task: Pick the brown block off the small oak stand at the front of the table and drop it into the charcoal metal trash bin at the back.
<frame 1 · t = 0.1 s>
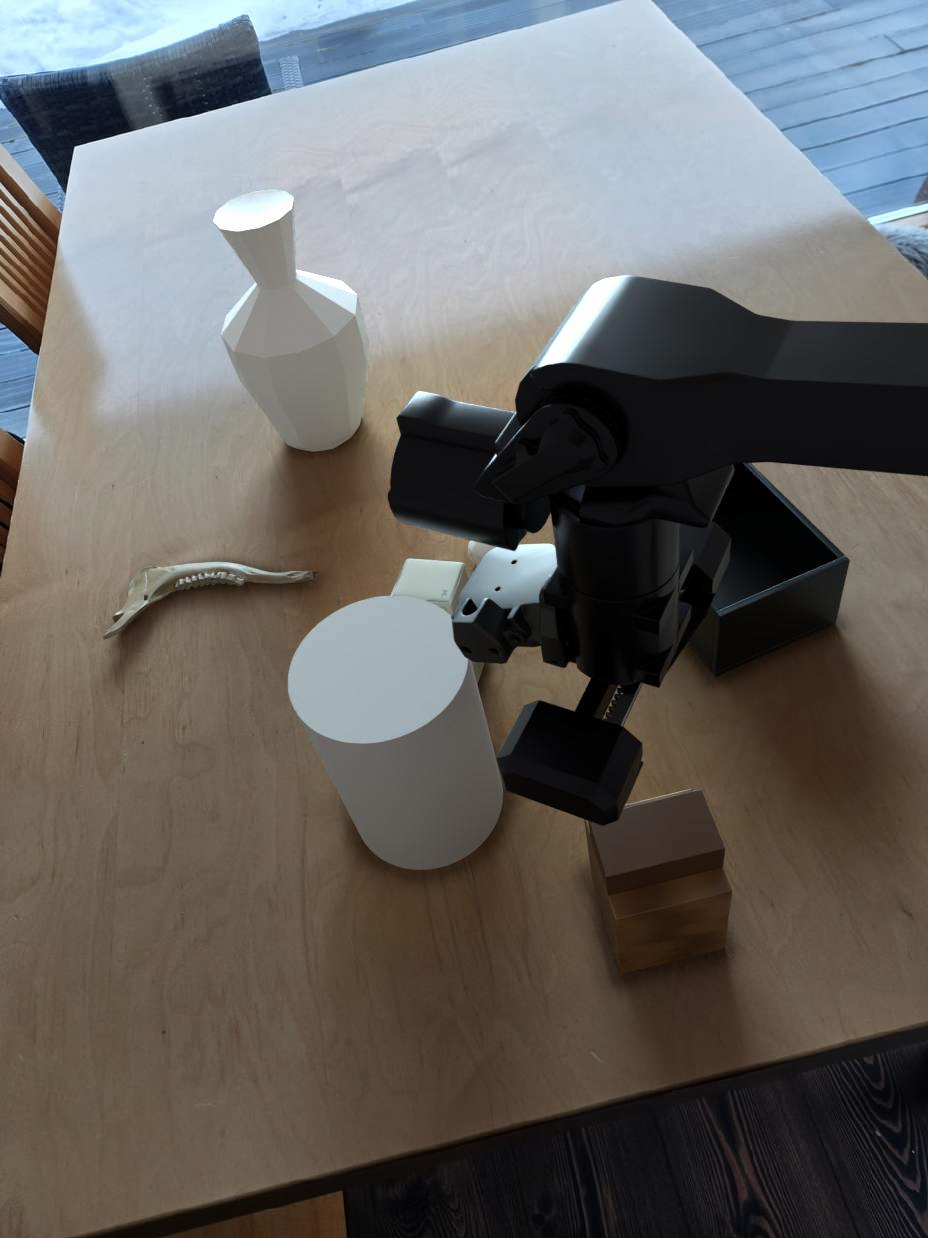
hand: (626, 737, 55), 15 cm above the table, tool pointing down, fingers open, 9 cm apart
brown block: (655, 851, 56), point 9 cm above the table, touching stand
jawbone: (213, 611, 88), on the table
white solid cylinder: (428, 800, 71), on the table
vase: (327, 428, 104), on the table
stand: (655, 911, 63), on the table
trash bin: (705, 567, 82), on the table
white seashell: (493, 564, 86), on the table
box: (453, 668, 79), on the table
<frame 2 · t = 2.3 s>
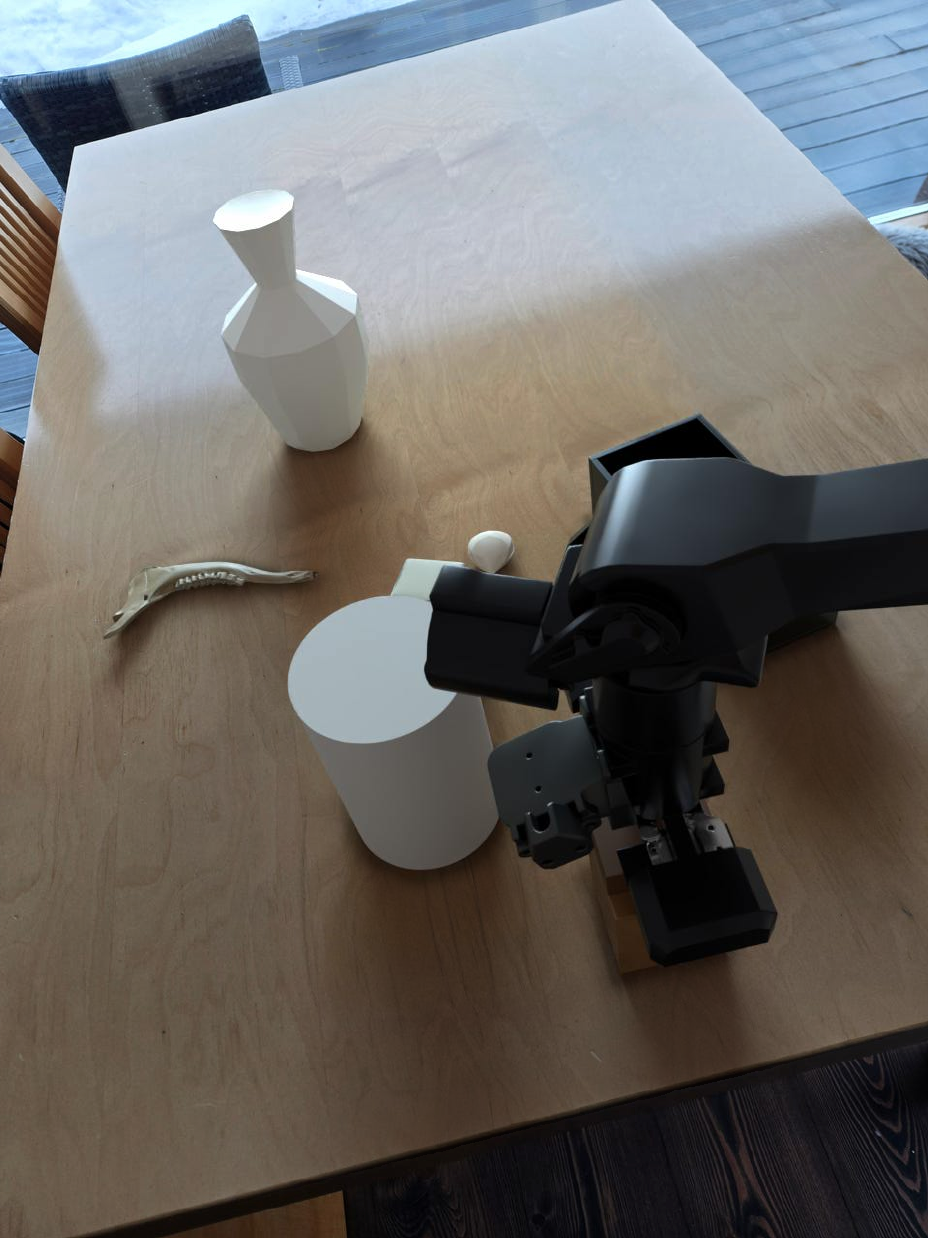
hand: (655, 849, 56), 9 cm above the table, tool pointing down, fingers closed on brown block, 4 cm apart
brown block: (655, 851, 56), point 9 cm above the table, touching gripper, stand
everything else where it was.
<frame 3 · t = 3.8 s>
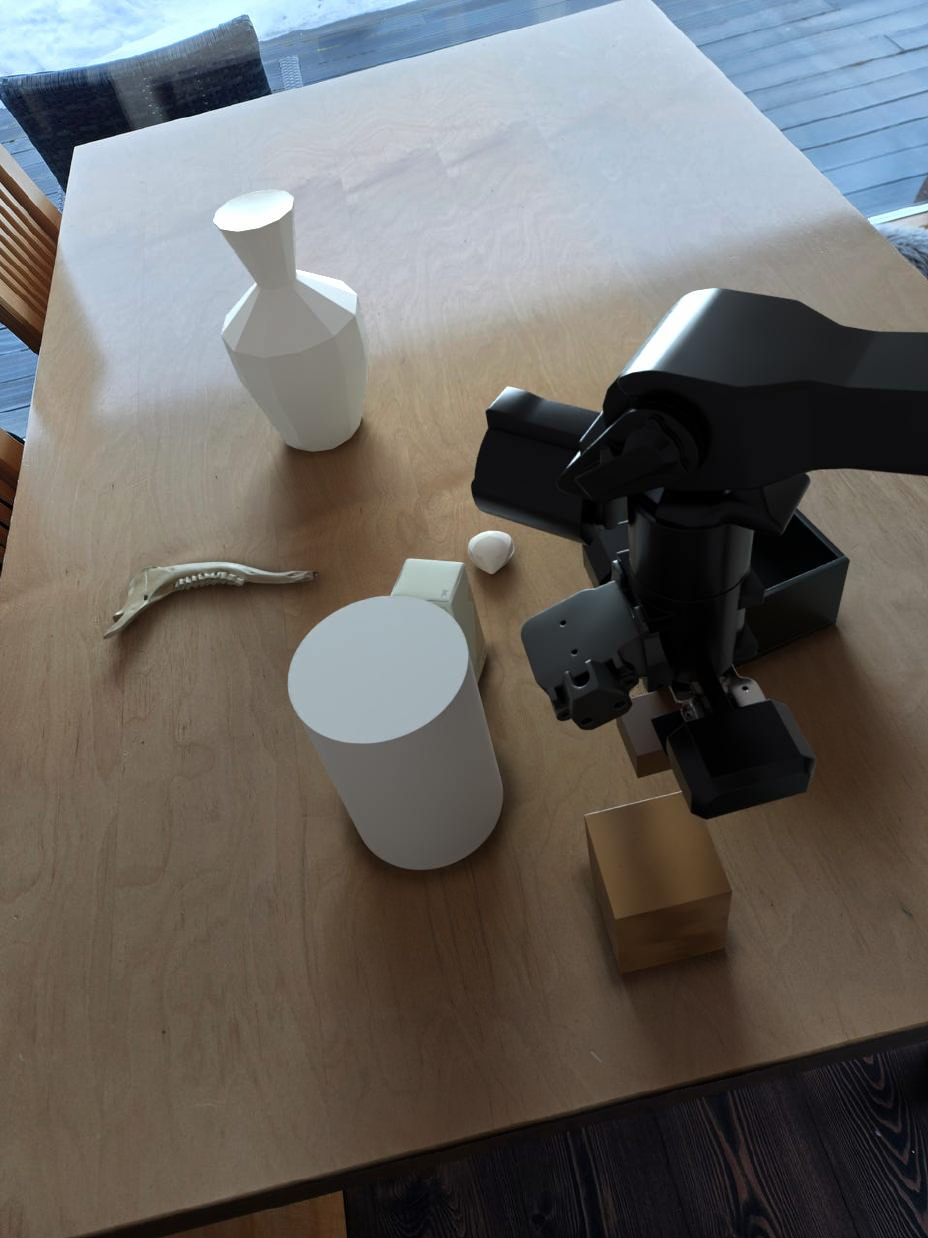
hand: (682, 733, 56), 13 cm above the table, tool pointing down, fingers closed on brown block, 4 cm apart
brown block: (682, 736, 57), point 13 cm above the table, touching gripper
everything else where it was.
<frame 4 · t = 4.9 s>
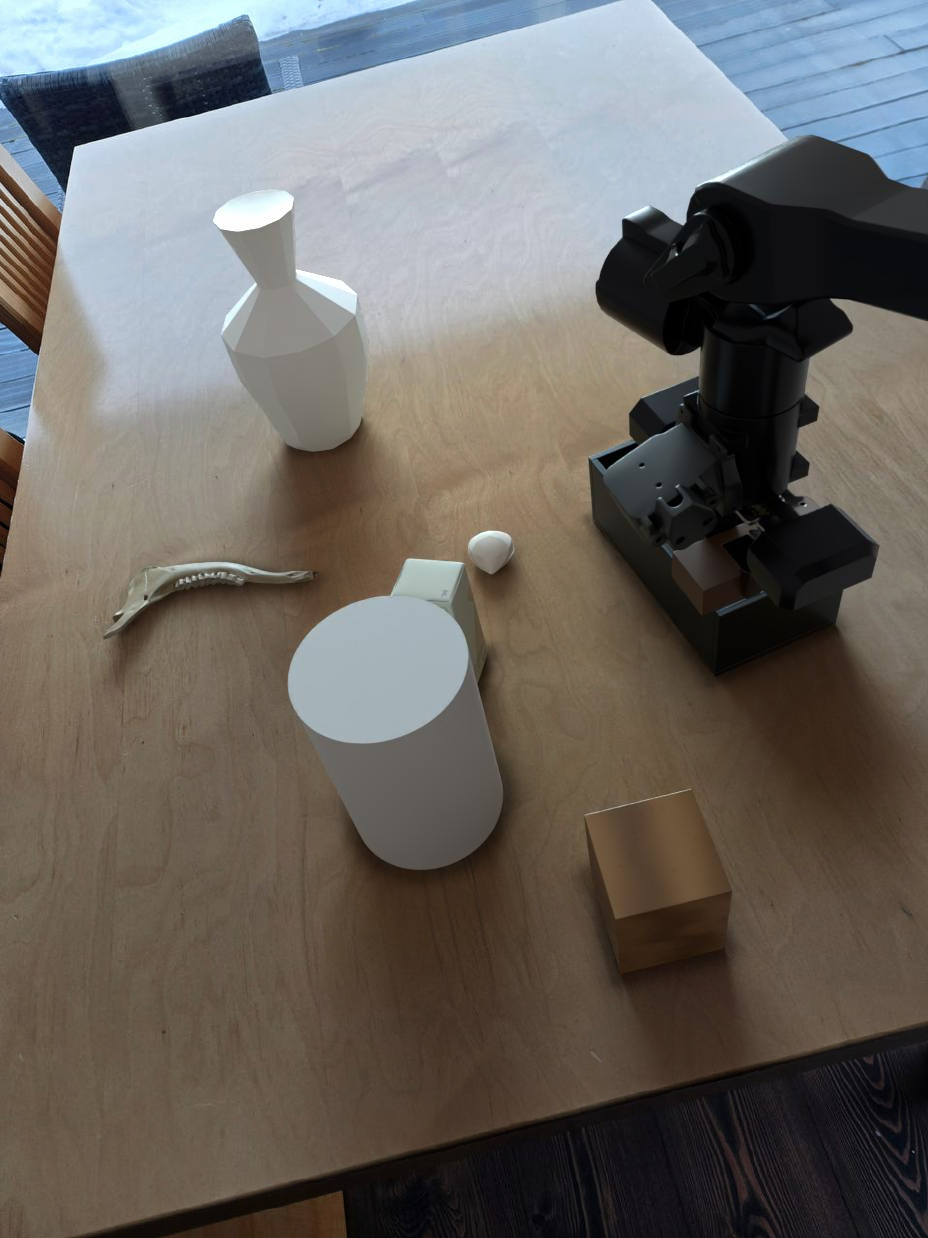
hand: (732, 574, 64), 13 cm above the table, tool pointing down, fingers closed on brown block, 4 cm apart
brown block: (731, 577, 64), point 13 cm above the table, touching gripper
everything else where it was.
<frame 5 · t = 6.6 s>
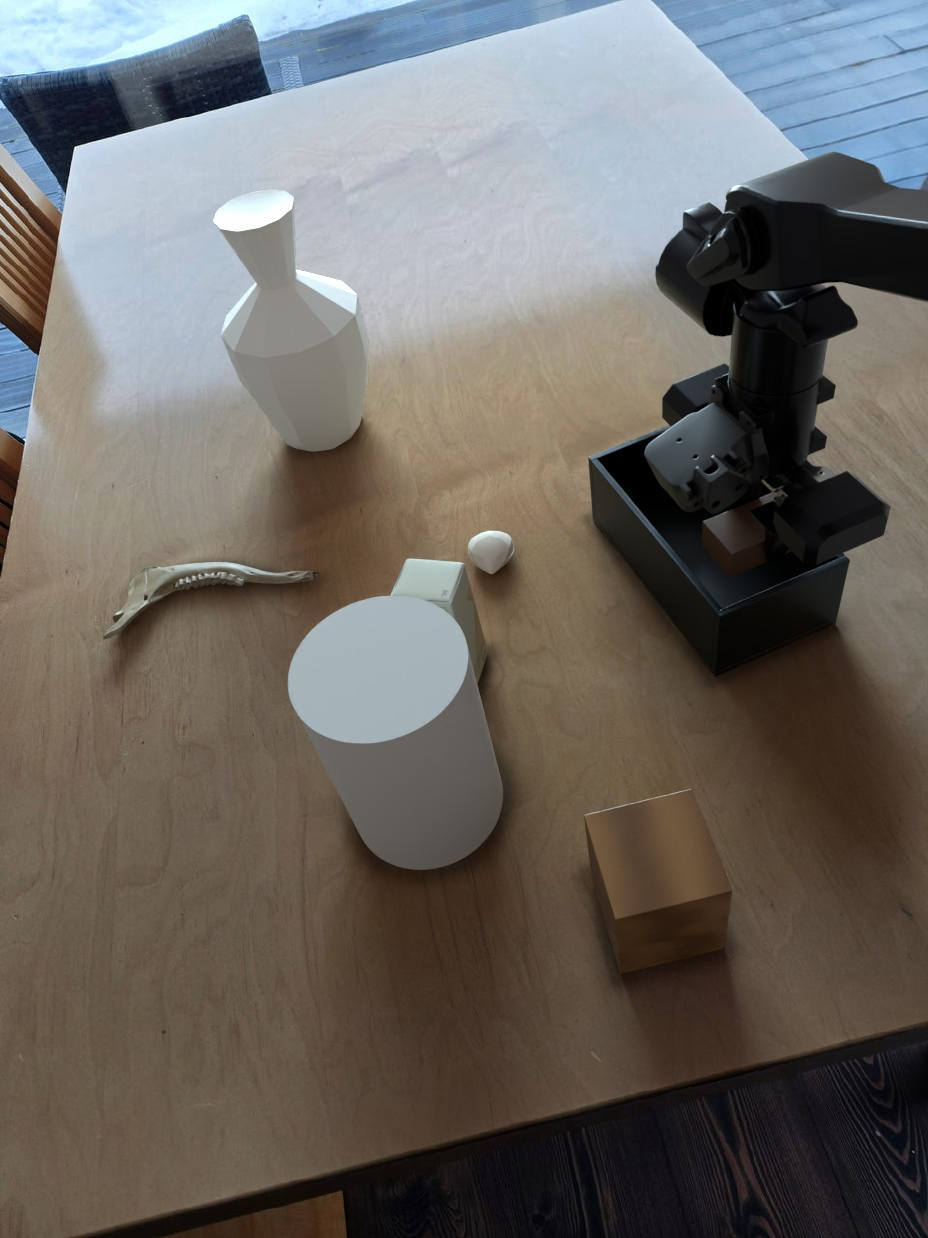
hand: (756, 541, 71), 9 cm above the table, tool pointing down, fingers closed on brown block, 4 cm apart
brown block: (755, 543, 71), point 9 cm above the table, touching gripper
everything else where it was.
when the fingers open (6 cm above the table, at t = 7.8 s): brown block drops 5 cm, resting on trash bin.
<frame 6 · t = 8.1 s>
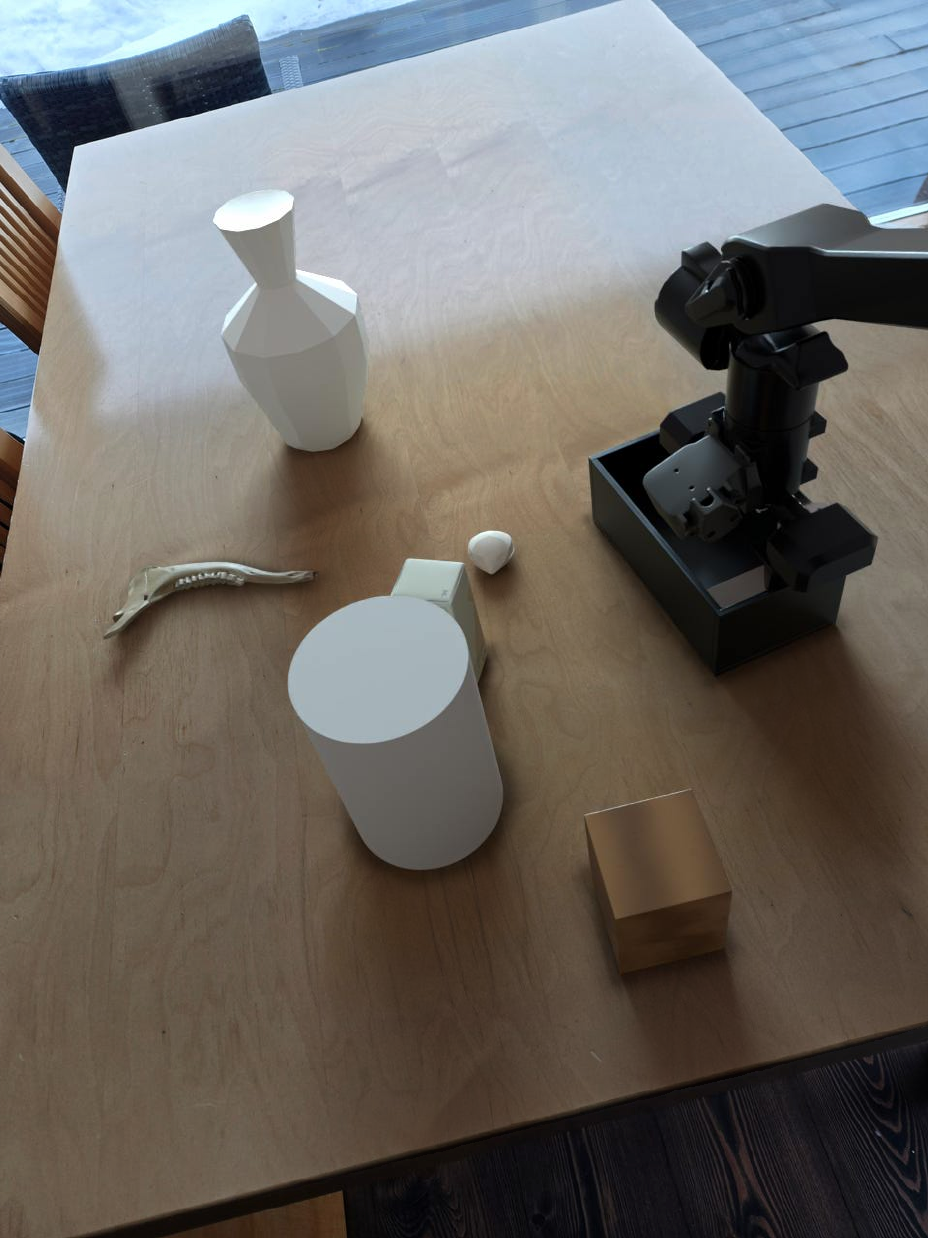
hand: (749, 563, 73), 6 cm above the table, tool pointing down, fingers open, 6 cm apart
brown block: (747, 612, 77), point 1 cm above the table, touching trash bin
everything else where it was.
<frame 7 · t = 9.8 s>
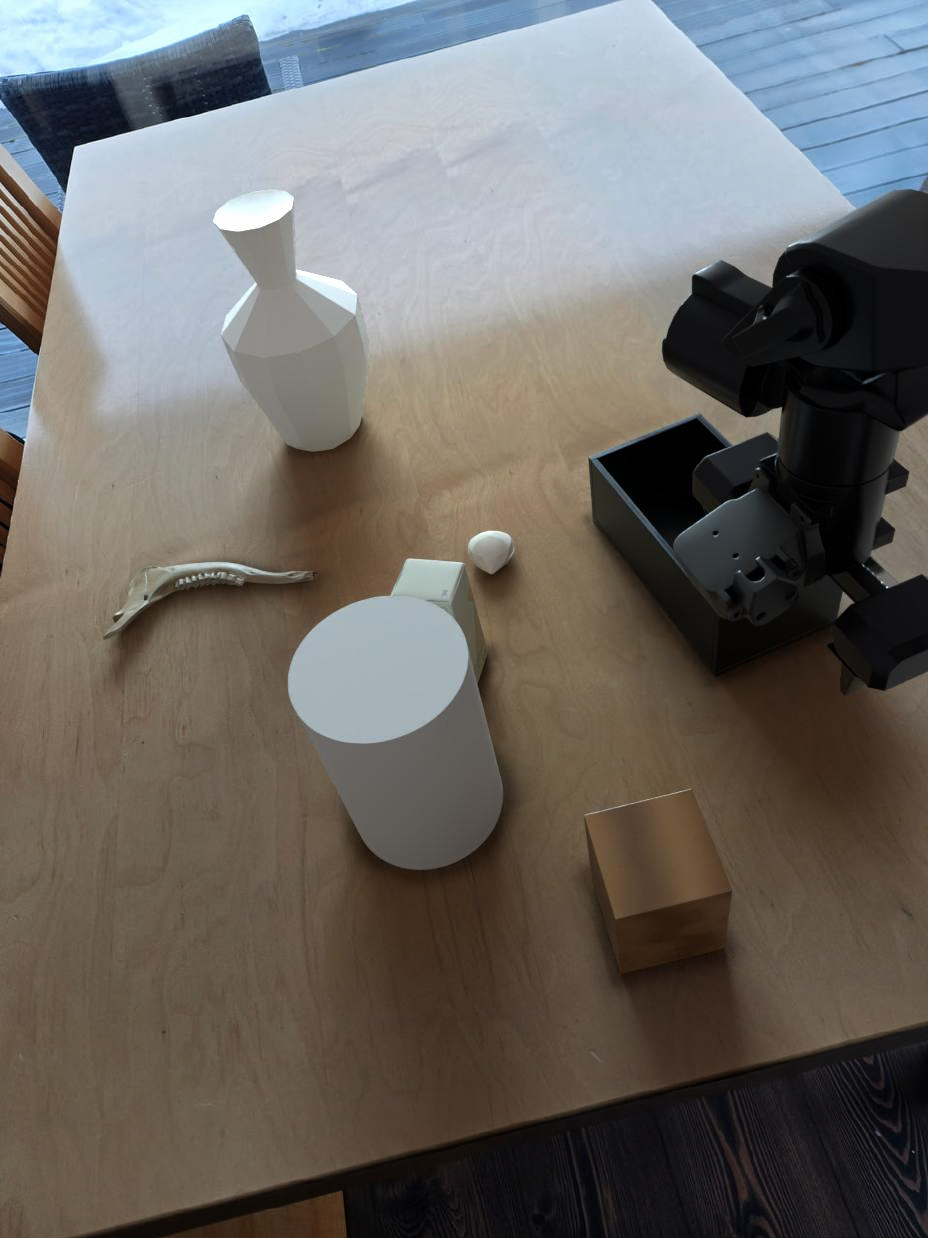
hand: (804, 640, 60), 13 cm above the table, tool pointing down, fingers open, 9 cm apart
nothing on the table moved.
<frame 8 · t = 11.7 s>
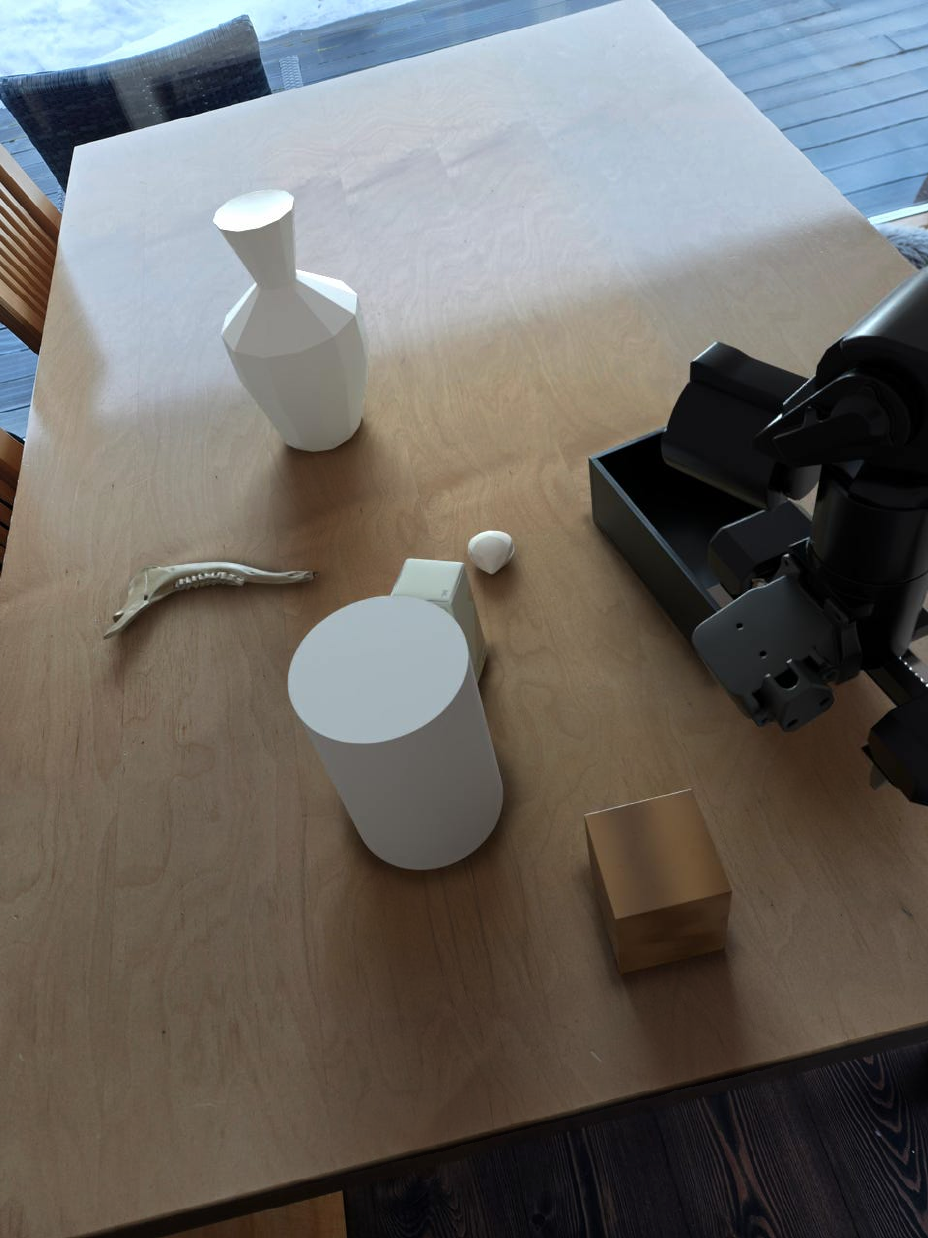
hand: (828, 724, 55), 13 cm above the table, tool pointing down, fingers open, 9 cm apart
nothing on the table moved.
at the end: brown block inside the target area in the trash bin (6.5 cm from its centre), point 0.6 cm above the trash bin's base; the gripper is holding nothing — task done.
